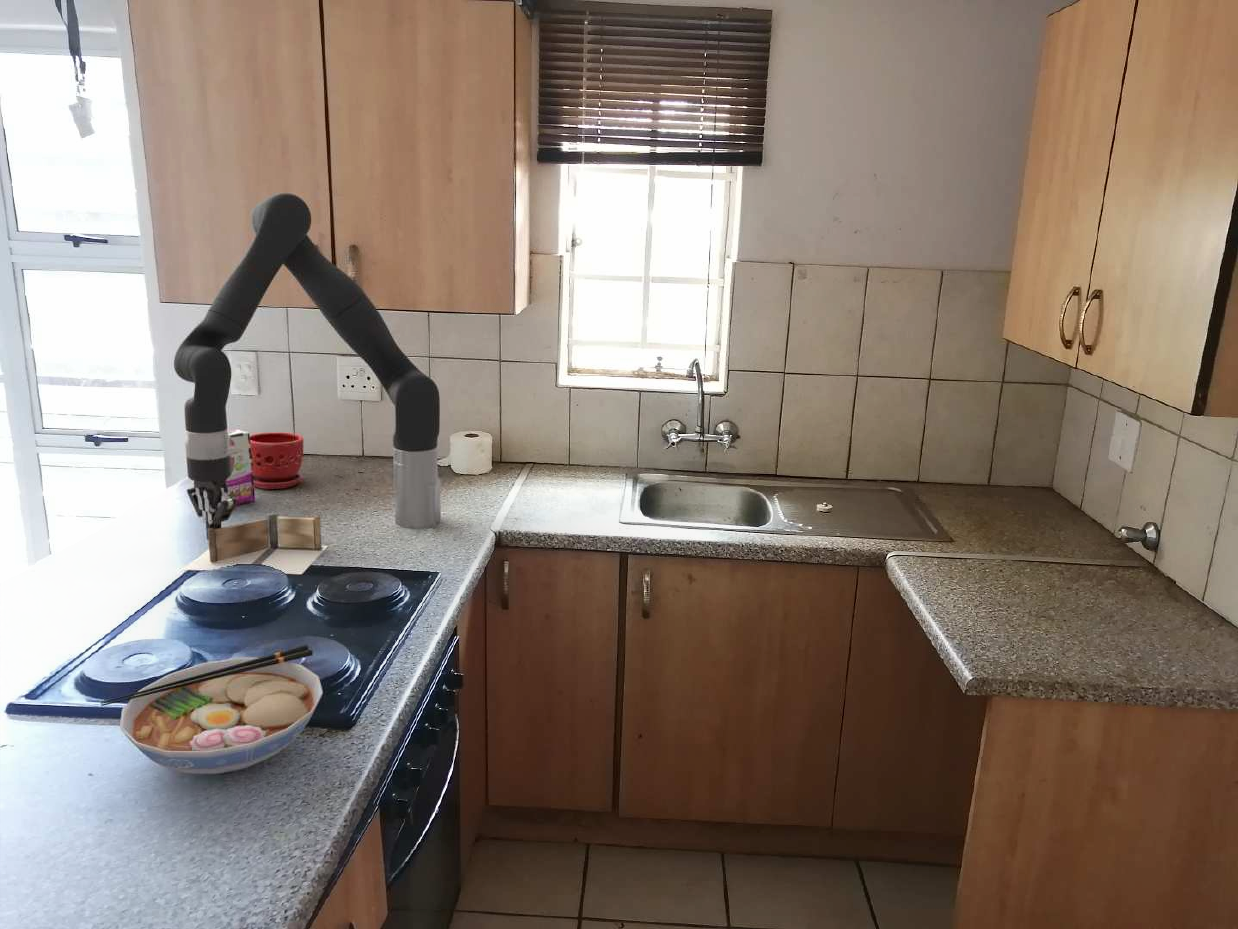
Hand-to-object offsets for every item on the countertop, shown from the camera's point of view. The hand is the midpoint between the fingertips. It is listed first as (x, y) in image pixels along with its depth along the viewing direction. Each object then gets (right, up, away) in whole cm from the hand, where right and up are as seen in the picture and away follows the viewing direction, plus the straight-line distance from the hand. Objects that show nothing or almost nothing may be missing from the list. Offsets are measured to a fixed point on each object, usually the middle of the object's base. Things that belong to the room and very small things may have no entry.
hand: (214, 540), depth 174 cm
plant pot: (-6, +9, +49) cm, 50 cm away
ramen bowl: (+29, -22, -61) cm, 71 cm away
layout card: (+8, -4, +1) cm, 9 cm away
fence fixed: (+13, -2, +6) cm, 15 cm away
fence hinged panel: (+4, -3, +1) cm, 5 cm away
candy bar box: (-12, +5, +33) cm, 35 cm away
